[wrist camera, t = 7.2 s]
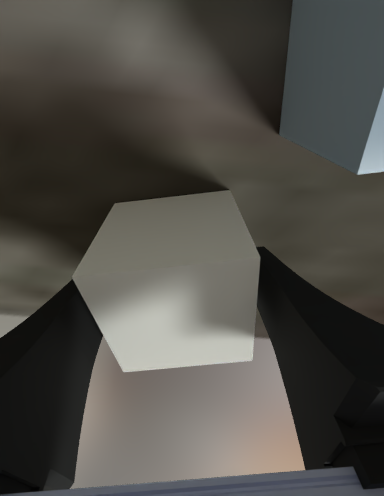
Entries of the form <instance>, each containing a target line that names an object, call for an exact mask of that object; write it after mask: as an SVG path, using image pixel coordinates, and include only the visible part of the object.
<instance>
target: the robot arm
mask: <svg viewBox="0 0 384 496" xmlns="http://www.w3.org/2000/svg"><path fill="white" fill-rule="evenodd" d="M256 249H257V251H258V253H259V255H260V269H259V282H258V295H257V307H258V310H259V312H260V315H261V317H262V320H263V322H264V325H265V327H266V330H267V332H268V335H269V337H270V340H271V342H272V345H273V348H274V351H275V354H276V357H277V361H278V364H279V368H280V371H281V375H282V379H283V382H284V386H285V389H286V393H287V397H288V401H289V404H290V408H291V412H292V416H293V419H294V424H295V428H296V432H297V436H298V440H299V444H300V448H301V453H302V457H303V461H304V466H305V470H303V471H291V472H278V473H265V474H253V475H241V476H229V477H228V476H227V477H215V478H202V479H190V480H177V481H166V482H152V483H140V484H127V485H114V486H102V487H89V488H77V489H70V487H71V486H72V484H73V483H74V479H75V470H76V462H77V454H78V447H79V439H80V433H81V426H82V420H83V414H84V409H85V403H86V398H87V393H88V388H89V383H90V379H91V374H92V369H93V365H94V362H95V358H96V355H97V352H98V349H99V345H100V343H101V340H102V337H103V333H102V332H101V330H100V328H99V326H98V324H97V323H96V321H95V319H94V317H93V315H92V313H91V312H90V310H89V308H88V306H87V304H86V302H85V301H84V299H83V297H82V295H81V293H80V291H79V290H78V288H77V286H76V284H75V282H74V280H73V279H72V280H71V281H70V282H69V283H68V284H67V285H66V286H64V287H63V288H62V289H61V290H60V291H59V292H58V293H57V294H56V295H55V296H53V297H52V298H51V299H50V300H49V301H48V302H46V303H45V304H44V305H43V306H42V307H41V308H39V309H38V310H37V311H36V312H35V313H33V314H32V315H31V316H30V317H28V318H27V319H26V320H25V321H23V322H22V323H21V324H19V325H18V326H17V327H15V328H14V329H13V330H11V331H10V332H8V333H7V334H6V335H4V336H3V337H1V338H0V496H384V325H383V324H380V323H378V322H376V321H374V320H372V319H370V318H368V317H366V316H364V315H362V314H360V313H358V312H356V311H354V310H352V309H350V308H349V307H347V306H345V305H343V304H341V303H340V302H338V301H336V300H334V299H333V298H331V297H330V296H328V295H326V294H325V293H323V292H321V291H320V290H318V289H317V288H315V287H314V286H312V285H311V284H310V283H308V282H307V281H305V280H304V279H303V278H301V277H300V276H299V275H297V274H296V273H295V272H293V271H292V270H291V269H290V268H288V267H287V266H286V265H285V264H284V263H282V262H281V261H280V260H279V259H278V258H277V257H275V256H274V255H273V254H272V253H271V252H270V251H268V250H267V249H266V248H265V247H256Z"/></svg>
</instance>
